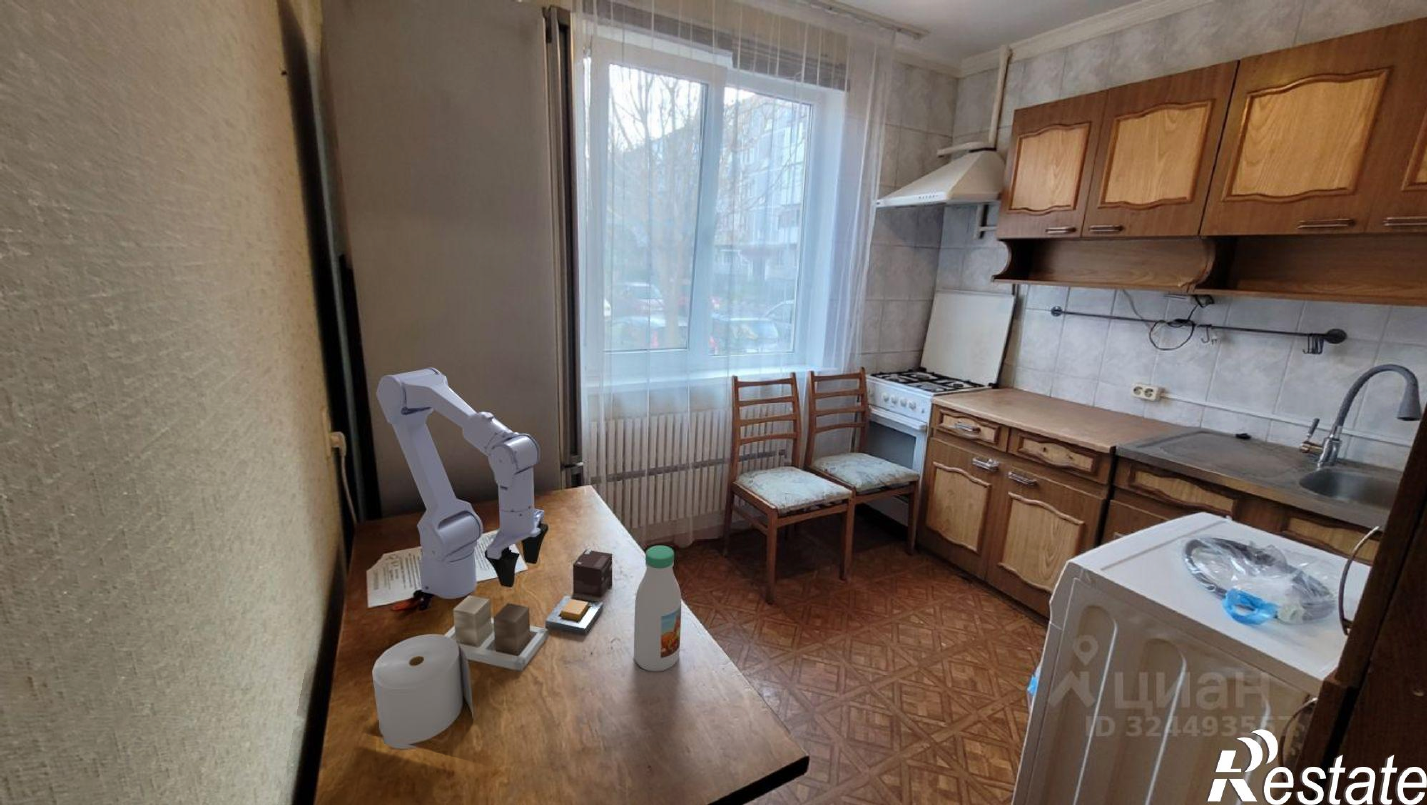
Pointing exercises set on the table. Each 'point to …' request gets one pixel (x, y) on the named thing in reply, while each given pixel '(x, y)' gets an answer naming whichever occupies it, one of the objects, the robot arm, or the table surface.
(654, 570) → the milk bottle
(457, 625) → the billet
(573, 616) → the button
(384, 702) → the toilet tissue
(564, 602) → the button housing
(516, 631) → the block
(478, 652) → the light grey rectangular frame
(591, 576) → the box
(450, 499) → the robot arm
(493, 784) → the table surface
